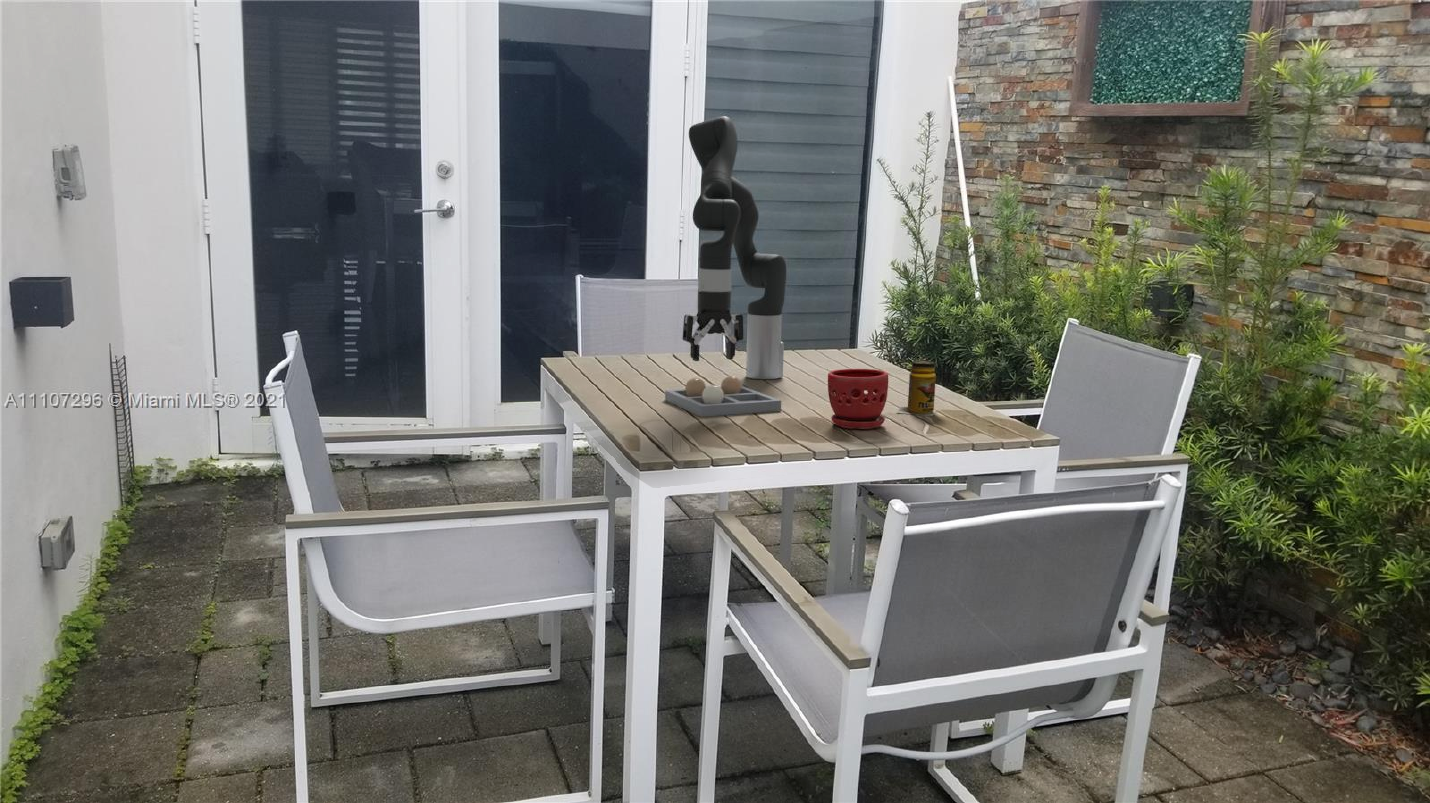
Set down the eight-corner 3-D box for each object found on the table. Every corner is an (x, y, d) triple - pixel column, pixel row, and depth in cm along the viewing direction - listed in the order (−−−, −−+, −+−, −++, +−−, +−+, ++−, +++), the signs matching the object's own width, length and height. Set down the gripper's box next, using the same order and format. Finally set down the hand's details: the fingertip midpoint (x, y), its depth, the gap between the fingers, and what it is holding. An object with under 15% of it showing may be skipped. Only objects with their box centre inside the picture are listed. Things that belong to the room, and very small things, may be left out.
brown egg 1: (700, 396, 269) (700, 375, 268) (709, 400, 265) (709, 379, 264) (681, 397, 267) (681, 377, 266) (690, 401, 262) (690, 380, 261)
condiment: (933, 416, 257) (936, 365, 255) (896, 413, 259) (899, 362, 257) (936, 410, 264) (939, 360, 261) (900, 407, 266) (903, 358, 264)
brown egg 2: (735, 394, 273) (736, 373, 272) (745, 397, 269) (745, 377, 268) (717, 395, 271) (717, 374, 270) (726, 398, 266) (726, 378, 266)
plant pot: (875, 419, 252) (877, 366, 250) (894, 431, 240) (897, 376, 237) (819, 419, 250) (821, 367, 248) (835, 432, 237) (837, 377, 235)
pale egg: (717, 403, 261) (718, 382, 260) (727, 407, 256) (727, 386, 255) (698, 404, 258) (698, 383, 257) (707, 409, 254) (707, 387, 253)
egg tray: (740, 395, 277) (741, 385, 277) (781, 410, 259) (781, 400, 259) (664, 400, 268) (665, 390, 268) (701, 416, 250) (701, 406, 250)
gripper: (735, 287, 259) (733, 356, 262) (679, 287, 252) (677, 358, 255) (750, 290, 252) (747, 361, 255) (692, 290, 246) (690, 363, 249)
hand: (712, 359), depth 255 cm, fingers open, 8 cm apart
